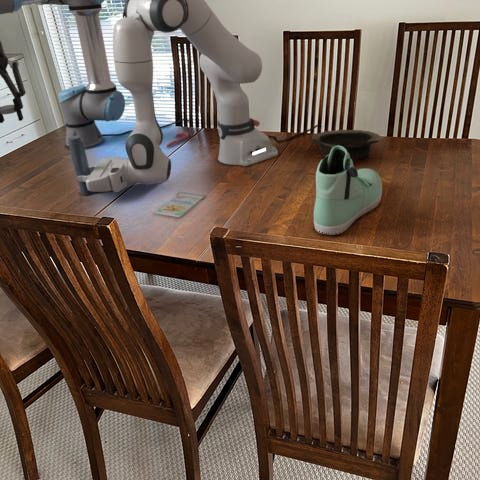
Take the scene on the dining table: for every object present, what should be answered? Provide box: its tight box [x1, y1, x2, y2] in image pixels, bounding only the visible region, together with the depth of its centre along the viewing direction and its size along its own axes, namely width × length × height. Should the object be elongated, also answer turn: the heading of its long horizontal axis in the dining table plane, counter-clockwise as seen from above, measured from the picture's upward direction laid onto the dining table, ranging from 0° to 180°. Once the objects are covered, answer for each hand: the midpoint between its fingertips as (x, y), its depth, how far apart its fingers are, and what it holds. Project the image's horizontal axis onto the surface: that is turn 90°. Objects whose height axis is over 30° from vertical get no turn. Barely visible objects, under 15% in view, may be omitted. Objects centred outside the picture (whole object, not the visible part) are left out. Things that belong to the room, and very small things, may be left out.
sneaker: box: [313, 146, 383, 236], centre depth 133 cm, size 14×35×20 cm, turn 152°
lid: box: [0, 104, 16, 115], centre depth 147 cm, size 5×5×2 cm
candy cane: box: [165, 132, 190, 148], centre depth 199 cm, size 6×15×2 cm, turn 145°
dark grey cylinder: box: [68, 136, 95, 196], centre depth 156 cm, size 4×4×19 cm
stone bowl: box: [310, 129, 384, 164], centre depth 171 cm, size 25×25×9 cm
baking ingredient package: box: [153, 192, 205, 218], centre depth 148 cm, size 9×1×15 cm
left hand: (11, 120), depth 149 cm, fingers closed on lid, 5 cm apart
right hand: (81, 174), depth 158 cm, fingers closed on dark grey cylinder, 4 cm apart
